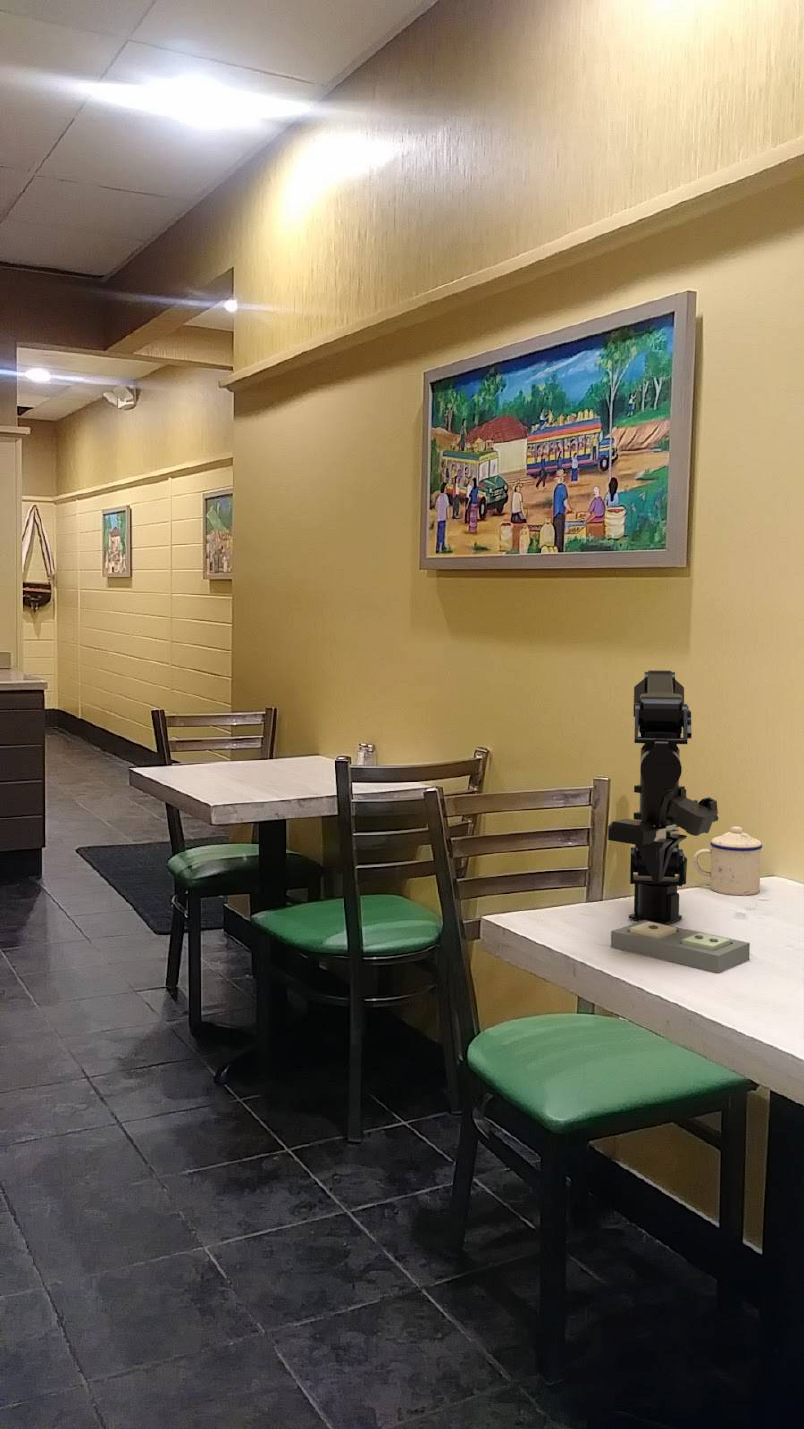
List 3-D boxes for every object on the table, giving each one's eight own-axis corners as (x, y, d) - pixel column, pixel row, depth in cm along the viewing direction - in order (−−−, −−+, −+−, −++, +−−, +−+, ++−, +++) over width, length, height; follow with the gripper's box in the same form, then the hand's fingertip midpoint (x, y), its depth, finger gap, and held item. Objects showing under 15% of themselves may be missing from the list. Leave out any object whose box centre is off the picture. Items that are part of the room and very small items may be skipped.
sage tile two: (681, 952, 169) (682, 938, 169) (699, 945, 173) (700, 931, 173) (712, 960, 166) (712, 944, 166) (730, 952, 169) (730, 937, 169)
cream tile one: (629, 940, 176) (629, 926, 175) (647, 934, 179) (648, 920, 179) (658, 947, 172) (658, 932, 172) (676, 940, 176) (676, 926, 175)
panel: (610, 947, 176) (611, 931, 175) (643, 935, 182) (644, 919, 182) (717, 973, 163) (718, 955, 163) (749, 959, 169) (749, 942, 169)
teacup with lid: (760, 886, 215) (762, 824, 214) (761, 897, 206) (763, 833, 205) (693, 882, 218) (694, 820, 217) (692, 893, 209) (693, 829, 208)
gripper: (672, 792, 162) (670, 902, 163) (739, 778, 175) (737, 880, 176) (606, 783, 169) (604, 888, 171) (675, 771, 183) (673, 868, 184)
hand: (657, 881), depth 175 cm, fingers closed
